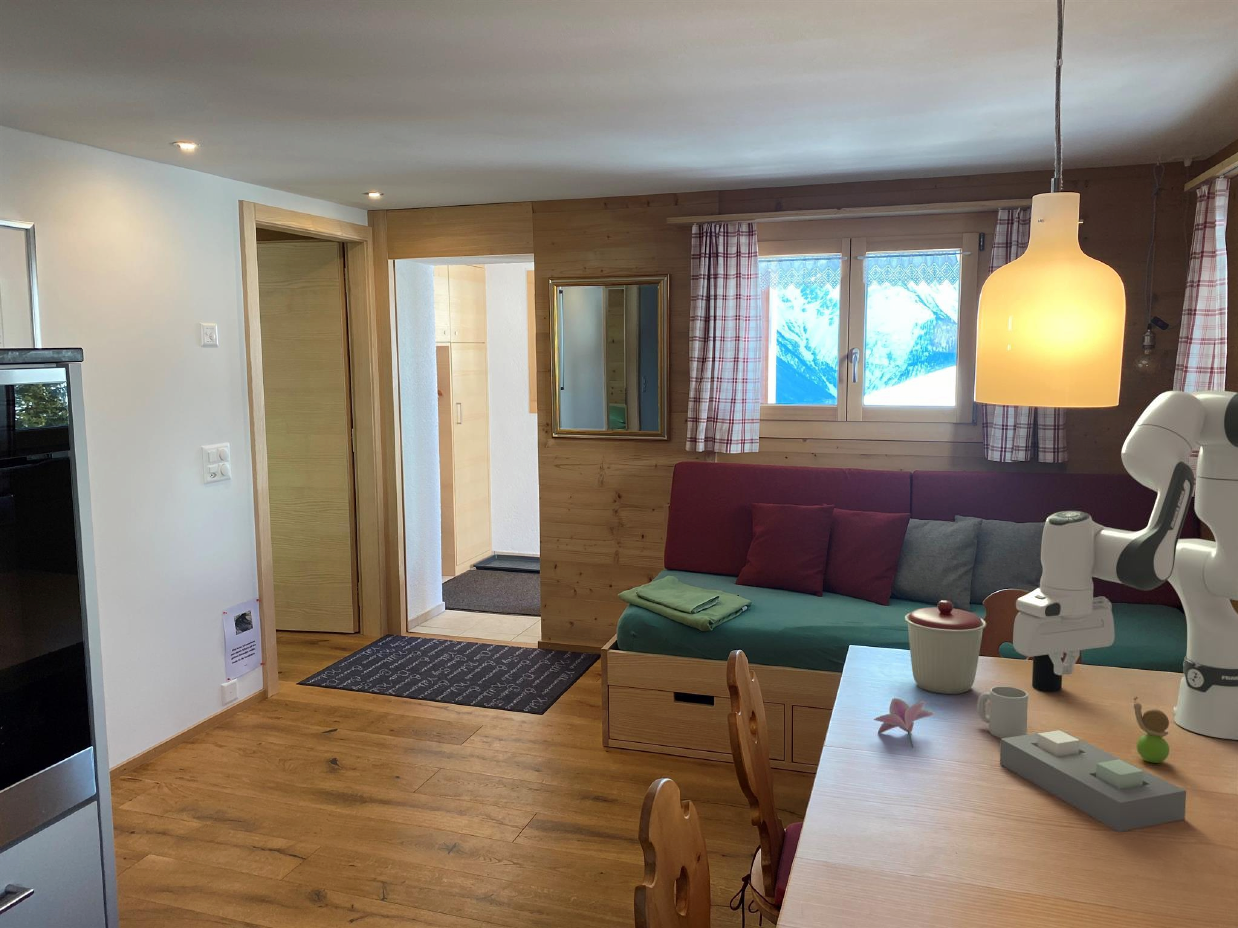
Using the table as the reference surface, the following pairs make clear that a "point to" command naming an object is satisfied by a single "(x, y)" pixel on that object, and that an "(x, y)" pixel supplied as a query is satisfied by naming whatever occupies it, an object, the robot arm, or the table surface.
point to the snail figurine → (1152, 734)
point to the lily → (902, 716)
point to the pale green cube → (1119, 774)
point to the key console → (1094, 784)
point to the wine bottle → (1045, 674)
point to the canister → (944, 647)
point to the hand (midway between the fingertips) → (1063, 673)
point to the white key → (1058, 743)
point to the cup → (1005, 711)
